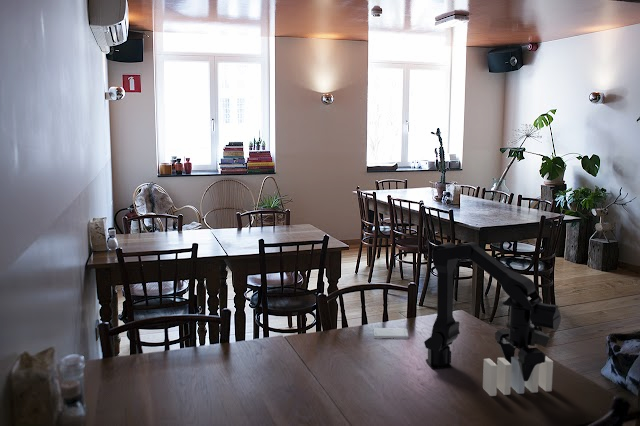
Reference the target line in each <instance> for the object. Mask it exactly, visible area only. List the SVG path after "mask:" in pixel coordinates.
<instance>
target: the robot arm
mask: <svg viewBox="0 0 640 426" xmlns="http://www.w3.org/2000/svg"><path fill="white" fill-rule="evenodd" d="M431 257H432V263H433V264H432V265H433V266H434V268H435V270H436V272H437V273H436V274H437V278H436V279H437V281H436V282H437V284H436V285H437V288H436V289H437V290H436V292H437V293H436V294H437V295H436V298H437V299H436V303H437V304H436V307H437V308H436V311H437V313H436V319H435V320H434V323H433V325H432V330H431V335H430V336H429V337H428V338H427V339H425V341H424V342H423V344H424V347H425V349H427V358H426V359H425V363H427V364H428V366H429V367H430V368H431V369H432V370H436V369H437V370H438V369H449V368H450V369H451V368H452V365H451V364H452V351H451V347H450V345H452V344H453V343H454V341H455V340H456V339H458V335H460V333H461V332H460V321H456V320H455V318H454V311H453V310H454V271H455V269H456V266H457V264H458V261H459V259H460V258H467V259H469V260H470V261H471V262H473V263H474V264H475V265H477V266H478V267H479V268H480V269H482V270H483V271H484V272H485V273H487V274H488V275H489V276H490V277H492V278H493V279H495V281H497V282H498V284H499V285H500V286H501V289H502V290H503V292H504V293H505V294H506V295H507V296H508V298H507V299H506V300H505V301H503V302H502V305H504V306H508V307H509V322H506V325H505V326H506V328H507V329H498V330H496V332H495V333H494V339H495V340H496V344H497V345H498V347H499V349H500V351H501V354H502V356H503V358H505V359H506V360H507V361H508V362H509V363H510V364H511V357H515V353H516V349H517V350H519V351H518V352H517V357H519V359H518V362H519V366H520V370H521V373H522V377H523V380H524V381H528V379H529V377H530V375H531V373H532V371H533V369H534V367H535V366H536V365H537V364H541V363H545V358H546V356H547V355H546V354H545V353H544V352H543V351H542V350H541V349H539V348H538V347H535V345H538V346H542V347H543V348H547V347H548V345H549V342H550V339H551V337H550V335H548V334H547V333H545V332H544V331H541V330H540V328H542V329H546V330H550V331H554V332H557V331H558V329H559V328H560V324H561V319H562V316H561V312H560V310H559V306H558V305H556V304H549V303H544V302H543V298H542V297H541V295H540V294H539V292H538V291H537V289H536V287H535V285H536V284H535V282H534V281H533V280H532V278H530V277H527V276H526V275H524V274H522V273H519V272H518V271H517V272H516V271H514V270H511V269H509V268H508V267H507V266H505V265H504V264H503V263H501V262H500V261H499V260H497V259H496V258H495V257H493V256H492V255H491V254H490V253H488V252H487V251H485V249H483V248H482V247H480V246H479V244H478V243H476V242H475V241H471V242H467V243H458V244H455V243H453V242H446V243H442V244H439V245H436V246H435V247H434V248H433V249H432V251H431ZM528 298H530V299H528ZM529 346H530V347H529ZM532 346H534V347H532Z"/></svg>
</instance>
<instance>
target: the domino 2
mask: <svg viewBox="0 0 640 426" xmlns="http://www.w3.org/2000/svg"><path fill="white" fill-rule="evenodd" d="M496 361H497V363H496V365H497V389H498V390H499V391H500V392H501V393H502V394H503V395H504V396H507V395H511V388H512V387H511V366H512V365H511V364H510V363H509V362H508V361H507V360H506V359H505V358H504V356H503V357H497V359H496Z"/></svg>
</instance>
